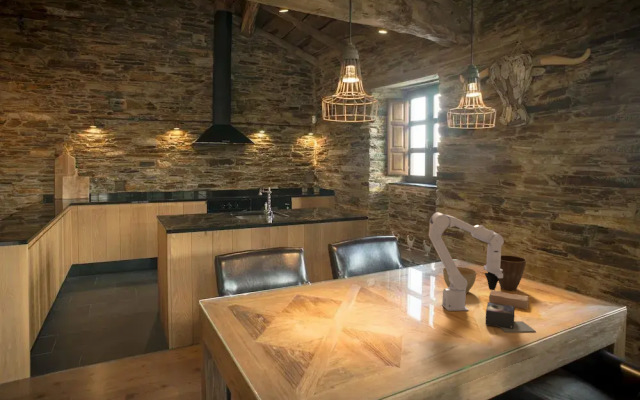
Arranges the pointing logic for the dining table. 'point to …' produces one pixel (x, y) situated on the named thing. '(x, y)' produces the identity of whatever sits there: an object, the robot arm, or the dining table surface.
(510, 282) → the plant pot
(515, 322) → the mat
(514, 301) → the brick
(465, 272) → the planter bowl
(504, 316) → the small box
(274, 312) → the dining table surface
